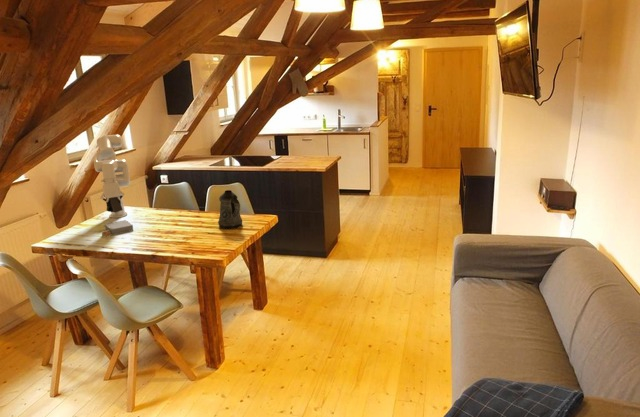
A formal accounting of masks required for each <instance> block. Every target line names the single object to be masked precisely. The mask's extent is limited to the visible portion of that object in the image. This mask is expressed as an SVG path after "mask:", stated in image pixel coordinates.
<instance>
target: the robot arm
mask: <svg viewBox="0 0 640 417" xmlns="http://www.w3.org/2000/svg"><path fill="white" fill-rule="evenodd" d="M96 144H97V146H98V149H99V151H98V152H97V153H96V154H95V155H94V158H93V167H94V170H95V172H97V173H101V174H102V176H103V177H102V178H103V179H101V183H102V194H101V195H100V196H99V198H100V199H101V200H102V201H104V202H106V203H105V204H106V208H107V207H108V208H110V204H109V201H108V200H109V198H114V197H118V202H119V203H120V204H121V207H122V209H123V210H122V211H119V212H110V214H109V218H113V219H117V218H122V217H126V216H127V215H128V212H126V211H125V205H124V198H123V197H124V196H125V193H124V192H123V191H121V188H124V187H129V186H131V175H130V171H129V163H128V161H127V160H126V159H124V158H123V159H117V156H116V152H115V150H114V149H115V148H116V149H117V148H122V147H123V145H124V140H123V138H122V136H121V135H120V134H109V135H108V134H107V135H102V136H101V137H97V139H96ZM117 173H118V174H117Z"/></svg>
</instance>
